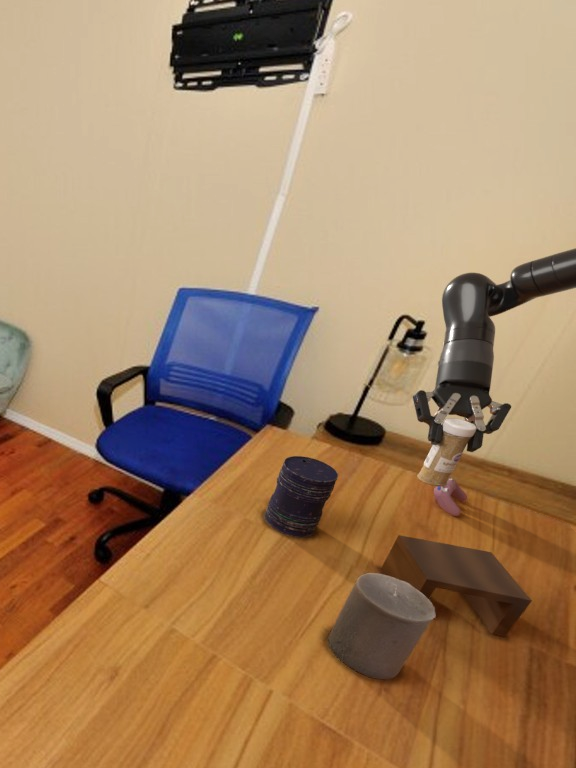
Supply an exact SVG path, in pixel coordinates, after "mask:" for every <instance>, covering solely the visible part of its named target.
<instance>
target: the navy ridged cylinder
mask: <svg viewBox="0 0 576 768" xmlns="http://www.w3.org/2000/svg"><path fill="white" fill-rule="evenodd" d="M338 477H339V473H338V471H337V470H336V469H335V468H334V467H333V466H331V465H330V464H328V463H326V462H324V461H321V460H318V459H316V458H313V457H308V456H302V455H293V456H288V457H286V458H285V459H284V461H283V463H282V466H281V468H280V470H279V473H278V476H277V478H276V486H275V489H274V492H273V493H272V494H271V496H270V498H269V501H268V502H267V506H266V510H265V514H264V520H265V522H266V523H267V524H268V525H269V526H270V527H271V528H273V529H274V530H275V531H278V532H280V533H282V534H284V535H285V536H286V535H287V536H290V537H295V538H308V537H311V536H313V535H314V533H315V530H316V528H317V527H318V525H319V523H320V521H321V519H322V515H323V510H324V507H325V505H326V502H327V501H328V500H329V499H330V498H331V496H332V493H333V491H334V488H335V485H336V482H337V480H338Z"/></svg>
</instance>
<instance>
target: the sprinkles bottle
mask: <svg viewBox="0 0 576 768" xmlns="http://www.w3.org/2000/svg"><path fill="white" fill-rule="evenodd" d="M441 425H443V430H442V437H441V442H440V443H439V444H438V445H431V448H430V450H429V452H428V454H427V455H426V457H425V460H424V462H423V464H422V466H421V469H420V471H419V473H417V476H416V477H417V478H418V480H419V481H421V482H423V483H425V484H426V485H429V486H432V487H433V486H434V487H437V486H445V485H446V484H447V481H448V479H450V477H451V475H452V473H453V472H454V471H455V468H456V467H457V465H458V463H459V461H460V459H461V458H462V455H463V453H464V451H465V449H466V448H467V443H468V441H469V439H470V438H471V437H472V436H473V435H474V433H475V431H476V429H477V427H476V426H475V425H474V424H472V423H470V422H468V421H465V419H461V418H455V417H454V418H453V417H450V418H445V419H444V421H443V422H442V423H441Z"/></svg>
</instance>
